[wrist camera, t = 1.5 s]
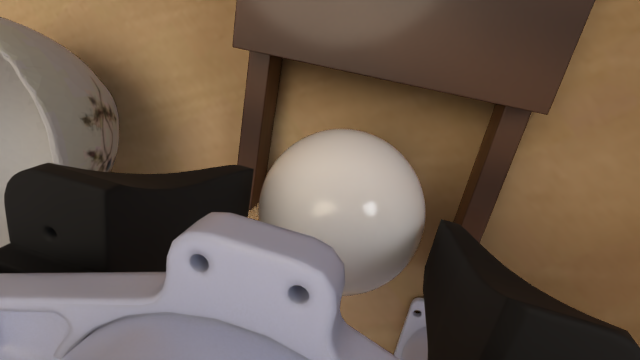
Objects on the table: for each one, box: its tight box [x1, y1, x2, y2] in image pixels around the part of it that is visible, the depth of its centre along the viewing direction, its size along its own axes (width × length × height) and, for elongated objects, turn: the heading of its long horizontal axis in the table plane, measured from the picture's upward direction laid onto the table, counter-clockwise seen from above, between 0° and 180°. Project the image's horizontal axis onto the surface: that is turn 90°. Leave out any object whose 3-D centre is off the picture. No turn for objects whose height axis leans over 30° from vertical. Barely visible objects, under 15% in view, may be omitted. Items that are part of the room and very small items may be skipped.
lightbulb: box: [258, 129, 426, 296], centre depth 17 cm, size 6×6×11 cm
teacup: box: [0, 17, 119, 248], centre depth 22 cm, size 15×12×8 cm
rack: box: [233, 0, 595, 243], centre depth 18 cm, size 18×14×6 cm
